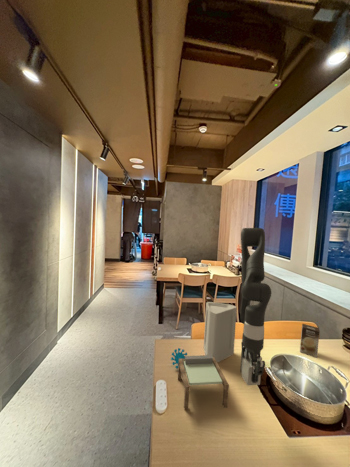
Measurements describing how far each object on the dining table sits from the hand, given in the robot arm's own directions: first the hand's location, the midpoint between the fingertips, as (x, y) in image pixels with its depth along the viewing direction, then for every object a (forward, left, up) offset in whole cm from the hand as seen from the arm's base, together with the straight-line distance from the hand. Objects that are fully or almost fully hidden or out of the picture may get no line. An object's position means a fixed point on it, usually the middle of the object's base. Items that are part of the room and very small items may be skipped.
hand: (250, 376), depth 81 cm
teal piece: (+21, -33, -17) cm, 43 cm away
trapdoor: (+15, -15, -8) cm, 23 cm away
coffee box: (-61, -40, -17) cm, 75 cm away
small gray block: (0, 0, +2) cm, 2 cm away
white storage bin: (-1, -43, -17) cm, 46 cm away
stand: (+15, -15, -17) cm, 27 cm away
